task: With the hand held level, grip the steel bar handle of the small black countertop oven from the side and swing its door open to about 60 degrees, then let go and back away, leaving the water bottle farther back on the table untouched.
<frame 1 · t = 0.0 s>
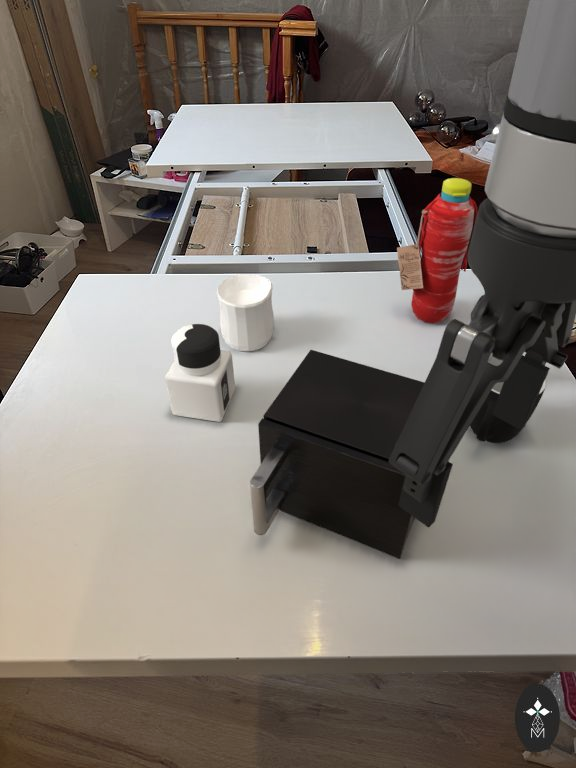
hand: (466, 463, 43), 23 cm above the table, tool pointing down, fingers open, 13 cm apart
flask: (489, 379, 86), on the table
container: (204, 402, 82), on the table
mug: (487, 434, 77), on the table
oven: (350, 484, 70), on the table
water bottle: (421, 316, 99), on the table
cup: (248, 336, 94), on the table
oven door: (322, 510, 58), point 8 cm above the table, hinge at 0.0°
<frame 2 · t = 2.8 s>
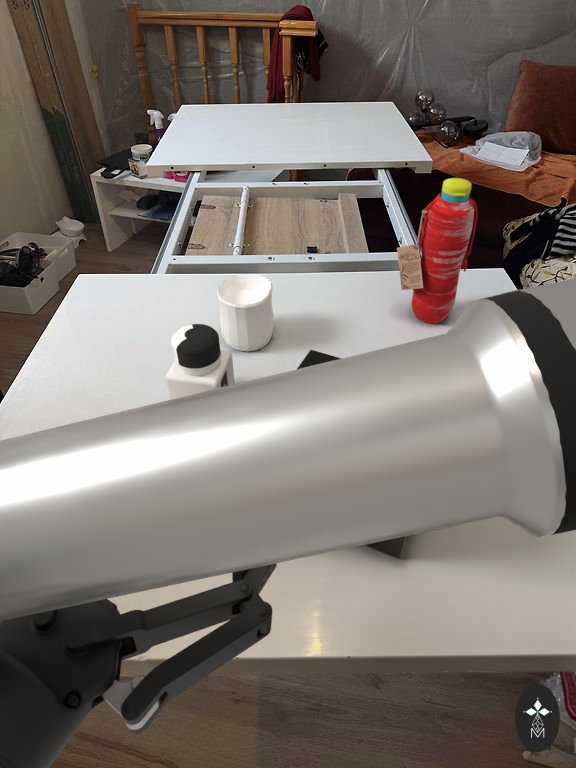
hand: (209, 472, 42), 24 cm above the table, tool horizontal, fingers open, 13 cm apart
nothing on the table moved.
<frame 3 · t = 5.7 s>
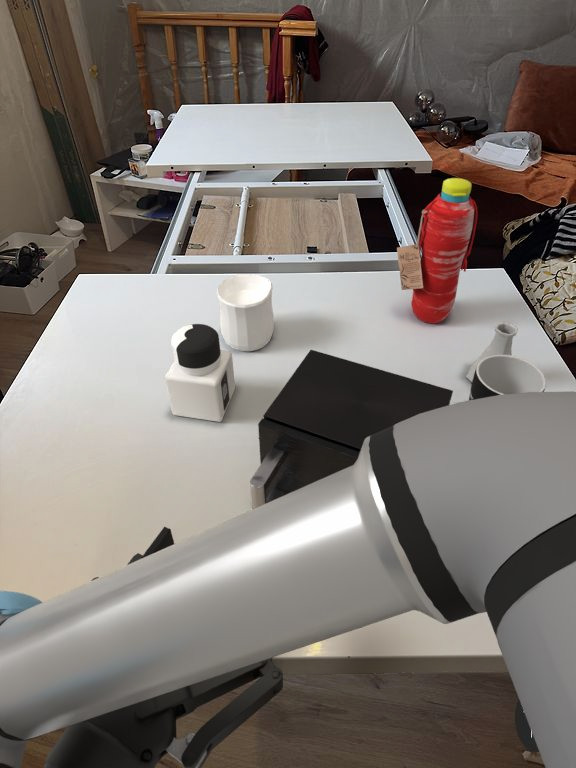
hand: (225, 559, 54), 8 cm above the table, tool horizontal, fingers open, 13 cm apart
nothing on the table moved.
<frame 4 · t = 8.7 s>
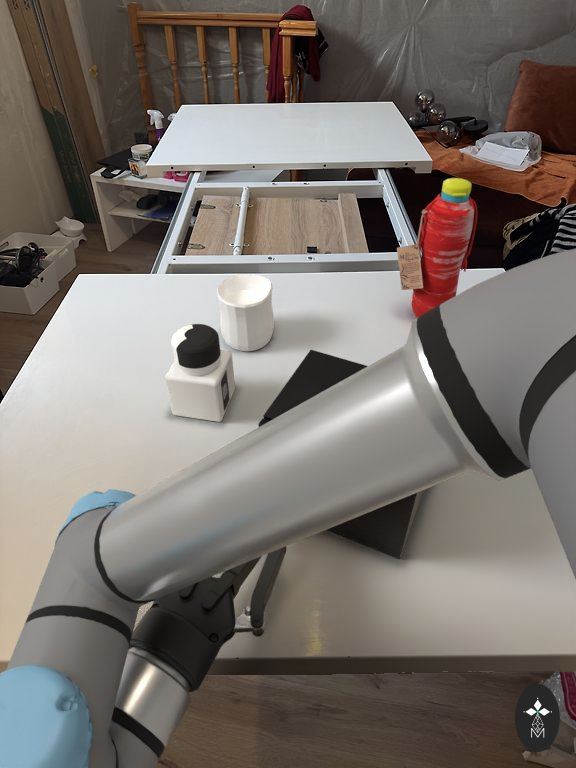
hand: (278, 475, 62), 7 cm above the table, tool horizontal, fingers open, 2 cm apart
oven door: (322, 509, 58), point 8 cm above the table, hinge at -0.1°, touching gripper
everything else where it was.
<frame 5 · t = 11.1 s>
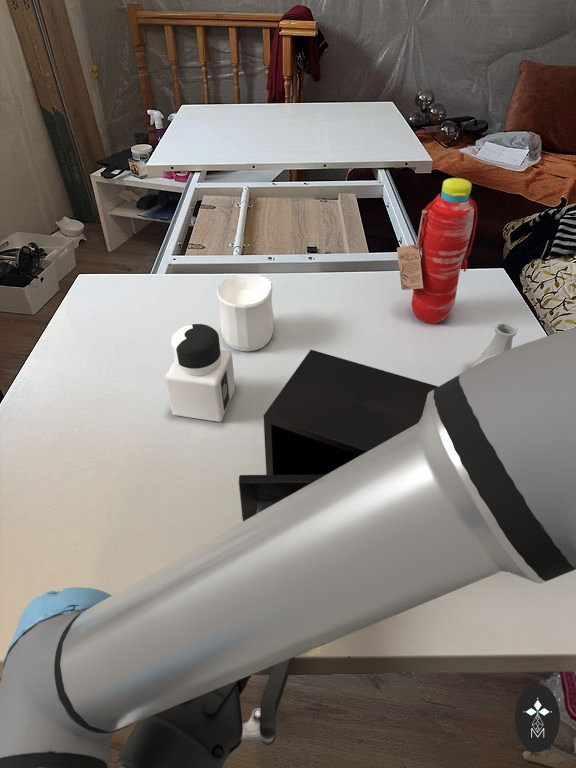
hand: (287, 540, 55), 8 cm above the table, tool horizontal, fingers open, 3 cm apart
oven door: (328, 544, 55), point 8 cm above the table, hinge at 26.0°, touching gripper
everything else where it was.
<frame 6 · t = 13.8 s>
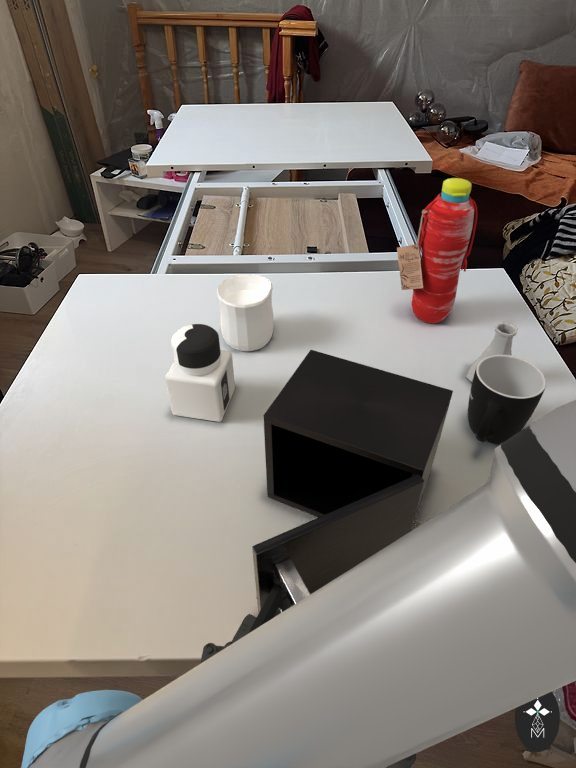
hand: (337, 618, 49), 8 cm above the table, tool horizontal, fingers open, 11 cm apart
oven door: (353, 577, 52), point 8 cm above the table, hinge at 51.8°
everything else where it was.
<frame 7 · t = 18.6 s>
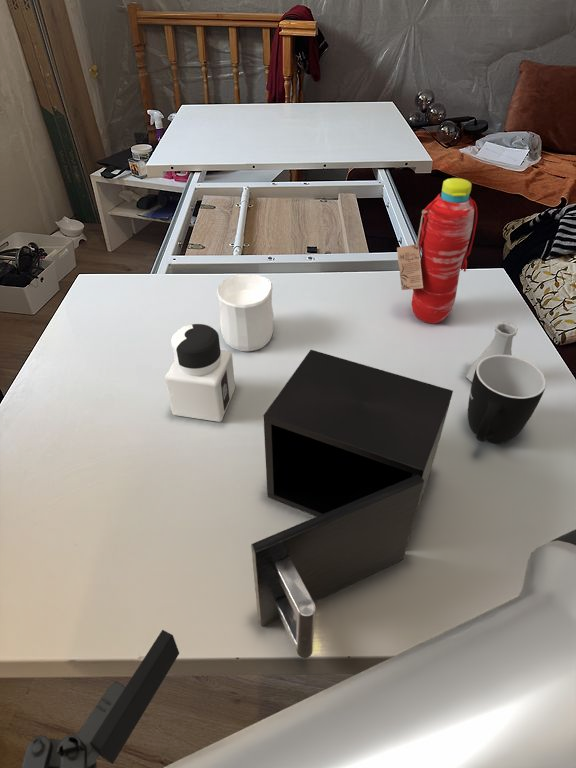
hand: (269, 692, 31), 23 cm above the table, tool horizontal, fingers open, 13 cm apart
oven door: (352, 576, 52), point 8 cm above the table, hinge at 51.1°
everything else where it was.
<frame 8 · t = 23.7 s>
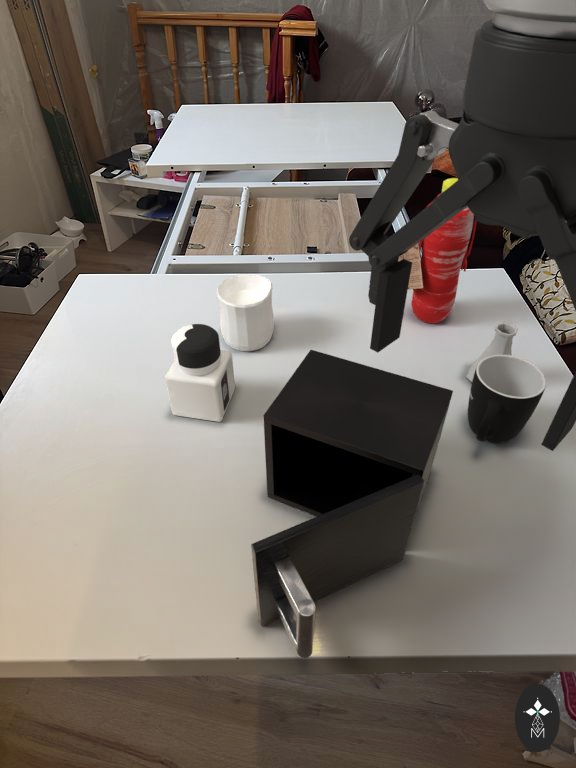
hand: (462, 385, 37), 32 cm above the table, tool pointing down, fingers open, 13 cm apart
nothing on the table moved.
at the end: oven door at +51° (first picture: +0°); the gripper is holding nothing; water bottle moved 0.2 cm from its start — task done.
